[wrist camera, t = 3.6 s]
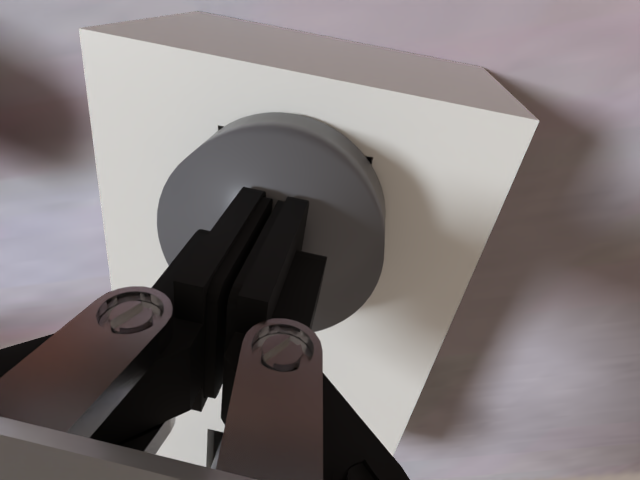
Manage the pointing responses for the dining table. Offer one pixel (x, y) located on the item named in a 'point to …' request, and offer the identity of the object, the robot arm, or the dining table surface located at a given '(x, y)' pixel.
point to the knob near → (280, 182)
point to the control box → (354, 123)
